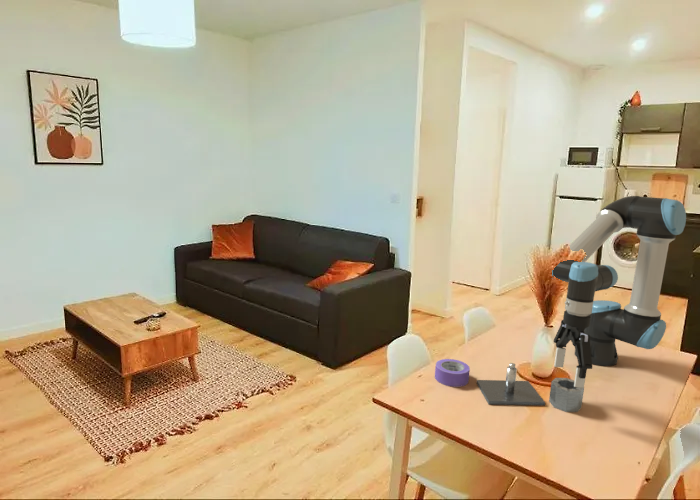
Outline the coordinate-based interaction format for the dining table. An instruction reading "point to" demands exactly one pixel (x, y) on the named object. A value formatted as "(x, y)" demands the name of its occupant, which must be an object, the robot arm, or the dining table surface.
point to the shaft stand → (510, 390)
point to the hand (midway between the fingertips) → (568, 376)
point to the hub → (566, 395)
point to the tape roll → (452, 372)
